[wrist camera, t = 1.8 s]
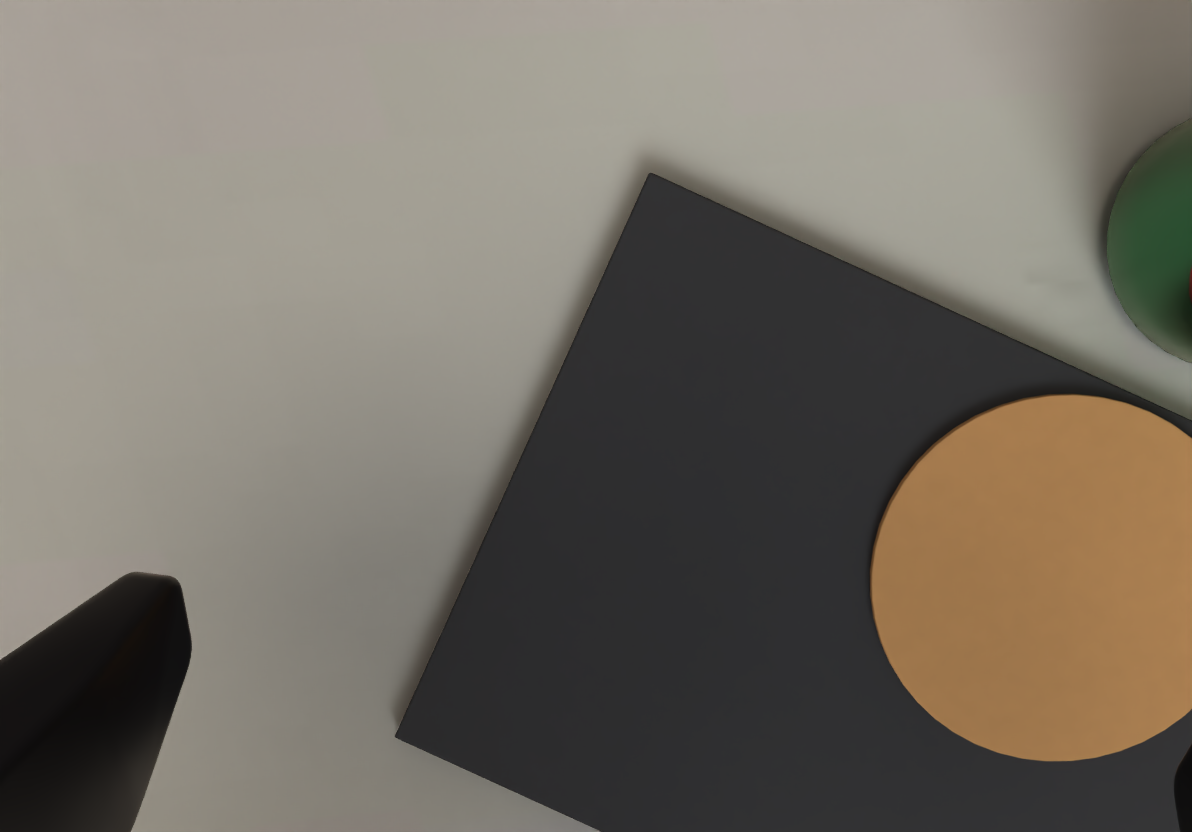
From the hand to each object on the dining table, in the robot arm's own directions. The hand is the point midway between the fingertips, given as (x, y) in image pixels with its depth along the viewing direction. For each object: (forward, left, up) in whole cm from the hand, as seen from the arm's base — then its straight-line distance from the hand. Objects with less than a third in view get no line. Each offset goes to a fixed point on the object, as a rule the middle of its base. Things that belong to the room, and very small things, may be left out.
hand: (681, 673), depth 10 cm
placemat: (-7, -4, -14) cm, 16 cm away
